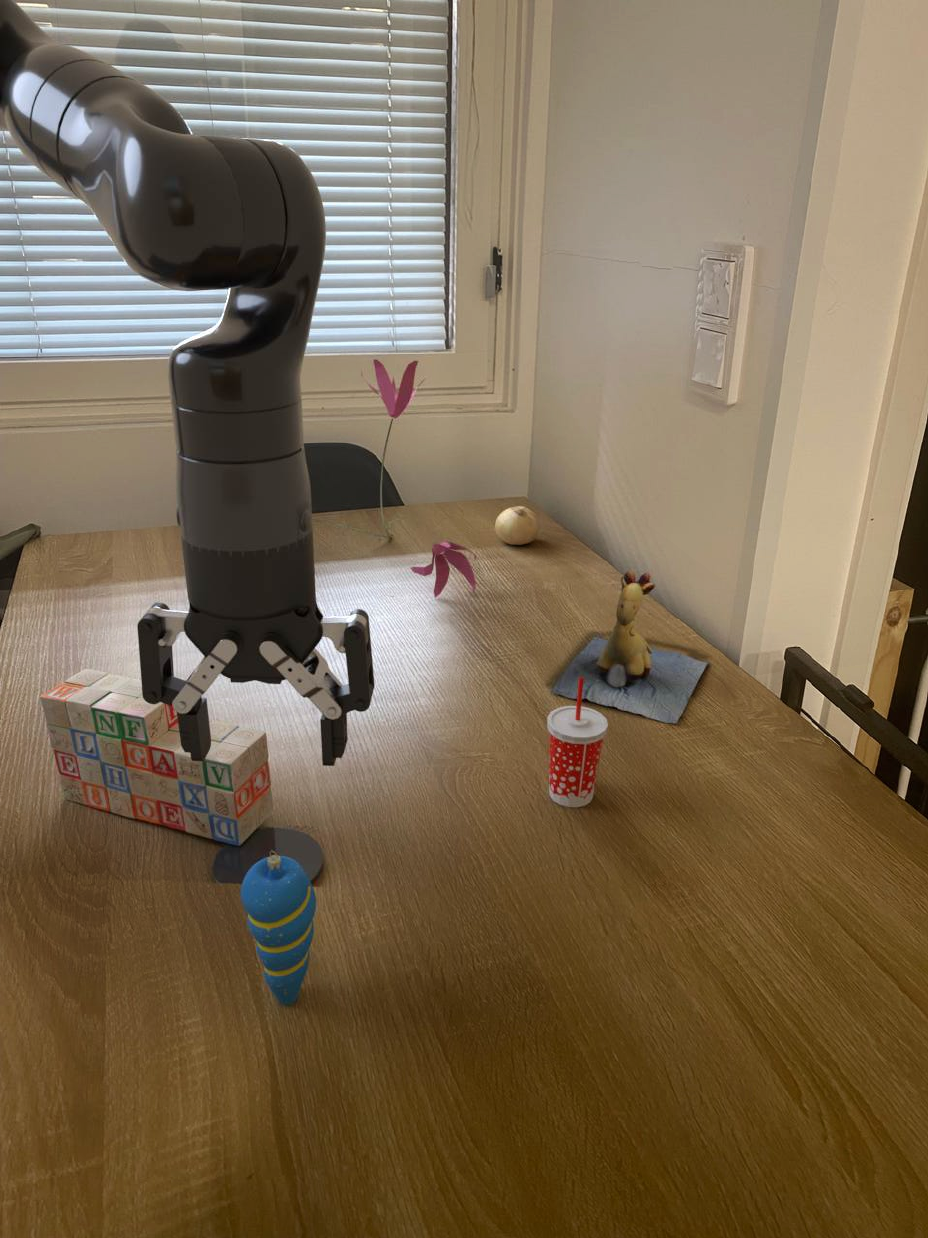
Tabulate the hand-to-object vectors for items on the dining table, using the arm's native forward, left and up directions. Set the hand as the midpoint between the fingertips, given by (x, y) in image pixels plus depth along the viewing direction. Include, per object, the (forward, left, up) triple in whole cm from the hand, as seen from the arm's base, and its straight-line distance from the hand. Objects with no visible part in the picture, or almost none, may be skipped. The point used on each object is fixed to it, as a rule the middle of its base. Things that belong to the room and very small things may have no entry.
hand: (265, 757), depth 60 cm
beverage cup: (+24, +29, -23) cm, 44 cm away
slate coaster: (-5, +16, -23) cm, 29 cm away
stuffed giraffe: (+34, +55, -23) cm, 69 cm away
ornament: (0, 0, -23) cm, 23 cm away
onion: (+20, +105, -23) cm, 109 cm away
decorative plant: (-5, +88, -23) cm, 91 cm away
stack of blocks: (-17, +24, -23) cm, 37 cm away
